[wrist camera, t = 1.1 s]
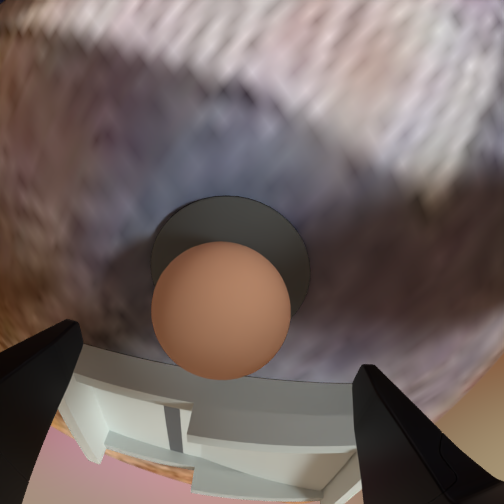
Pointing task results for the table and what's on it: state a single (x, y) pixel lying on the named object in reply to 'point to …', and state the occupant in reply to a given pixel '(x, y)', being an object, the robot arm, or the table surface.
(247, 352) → the ball
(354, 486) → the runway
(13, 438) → the robot arm
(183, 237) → the dark grey disc
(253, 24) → the table surface
